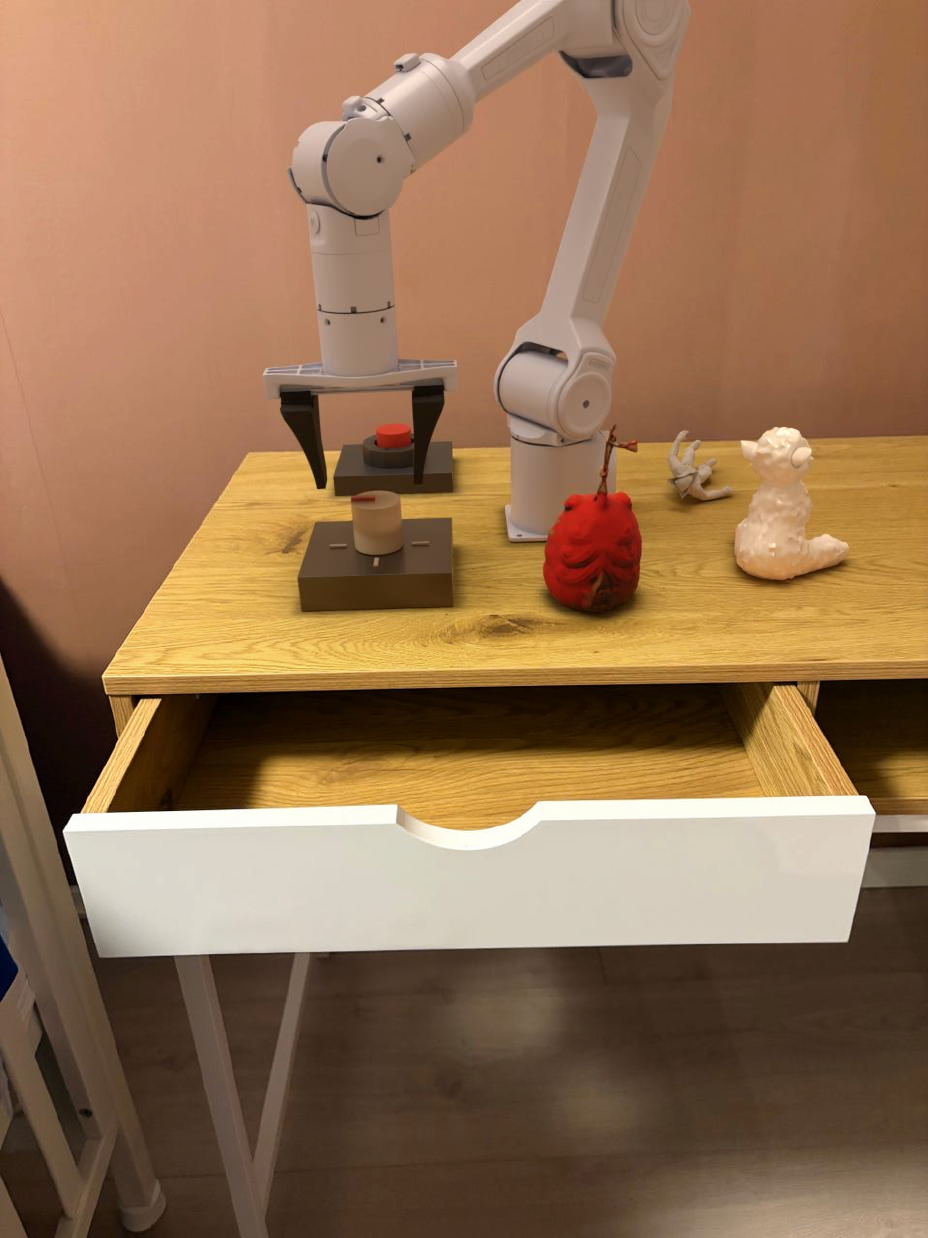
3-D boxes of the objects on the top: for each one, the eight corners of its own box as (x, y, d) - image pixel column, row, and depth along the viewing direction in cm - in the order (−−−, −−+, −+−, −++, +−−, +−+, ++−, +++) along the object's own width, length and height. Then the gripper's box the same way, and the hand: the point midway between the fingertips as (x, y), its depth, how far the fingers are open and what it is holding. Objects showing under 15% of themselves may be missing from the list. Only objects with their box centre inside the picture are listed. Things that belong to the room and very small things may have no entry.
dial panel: (453, 548, 84) (451, 515, 82) (453, 606, 74) (451, 570, 73) (318, 552, 84) (315, 519, 82) (301, 611, 74) (296, 575, 73)
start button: (412, 438, 100) (411, 422, 99) (410, 449, 97) (409, 433, 96) (378, 439, 100) (377, 423, 99) (375, 450, 97) (374, 434, 96)
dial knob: (404, 534, 79) (401, 486, 77) (402, 554, 76) (398, 504, 74) (357, 535, 79) (352, 487, 77) (352, 555, 76) (348, 506, 74)
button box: (452, 460, 104) (451, 424, 102) (452, 493, 96) (451, 455, 94) (345, 463, 104) (341, 428, 102) (335, 496, 96) (331, 459, 94)
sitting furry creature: (849, 560, 79) (875, 421, 73) (812, 600, 73) (837, 452, 67) (742, 535, 84) (758, 403, 79) (699, 569, 78) (713, 430, 73)
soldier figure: (736, 482, 98) (743, 488, 87) (698, 513, 100) (701, 522, 88) (687, 426, 98) (689, 423, 87) (651, 457, 100) (647, 459, 88)
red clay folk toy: (624, 575, 78) (635, 396, 71) (652, 615, 72) (667, 424, 65) (535, 584, 77) (536, 404, 70) (555, 625, 71) (559, 432, 64)
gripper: (452, 292, 72) (458, 461, 79) (263, 300, 72) (284, 469, 78) (457, 310, 66) (462, 491, 73) (249, 318, 66) (274, 500, 72)
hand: (370, 482), depth 75 cm, fingers open, 7 cm apart
